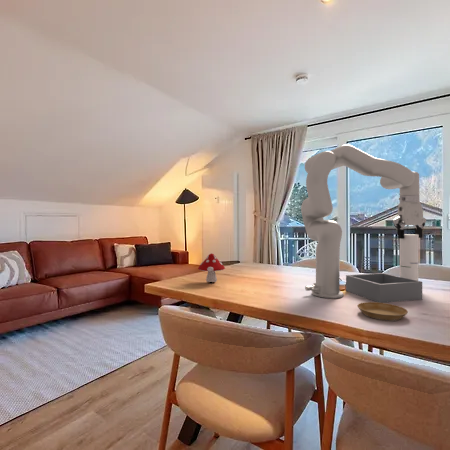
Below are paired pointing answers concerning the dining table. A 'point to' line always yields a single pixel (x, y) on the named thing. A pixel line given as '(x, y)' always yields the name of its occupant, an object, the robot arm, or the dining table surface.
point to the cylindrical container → (409, 256)
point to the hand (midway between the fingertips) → (409, 238)
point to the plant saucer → (382, 311)
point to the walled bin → (384, 287)
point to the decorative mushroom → (211, 267)
